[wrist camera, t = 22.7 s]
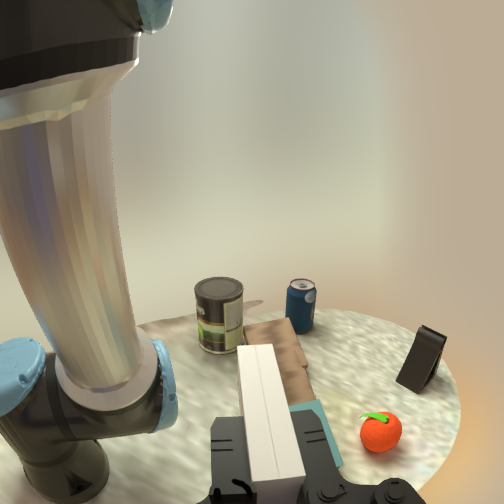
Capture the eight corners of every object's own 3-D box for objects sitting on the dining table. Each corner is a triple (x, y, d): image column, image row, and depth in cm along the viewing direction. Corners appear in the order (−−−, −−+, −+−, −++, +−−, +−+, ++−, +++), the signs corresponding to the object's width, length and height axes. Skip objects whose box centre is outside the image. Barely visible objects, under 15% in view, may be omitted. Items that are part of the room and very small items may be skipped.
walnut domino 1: (259, 376, 57) (243, 326, 66) (258, 381, 59) (243, 332, 67) (308, 364, 59) (288, 317, 68) (305, 369, 61) (287, 323, 69)
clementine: (342, 447, 43) (352, 422, 40) (361, 421, 48) (370, 394, 45) (384, 465, 38) (399, 441, 36) (400, 437, 43) (413, 411, 41)
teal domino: (279, 483, 35) (258, 412, 44) (276, 485, 37) (256, 417, 46) (343, 464, 38) (318, 398, 46) (338, 467, 39) (314, 404, 48)
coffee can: (202, 357, 66) (197, 301, 61) (196, 331, 75) (191, 278, 70) (248, 350, 68) (249, 295, 63) (237, 326, 78) (237, 274, 73)
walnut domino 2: (260, 412, 49) (243, 354, 57) (258, 416, 50) (241, 360, 59) (314, 398, 51) (293, 344, 60) (311, 403, 53) (290, 351, 61)
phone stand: (417, 394, 52) (436, 347, 48) (394, 381, 57) (410, 334, 53) (436, 373, 57) (453, 328, 53) (415, 362, 62) (430, 317, 57)
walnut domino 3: (267, 443, 42) (249, 378, 51) (265, 446, 44) (248, 384, 53) (326, 428, 45) (304, 368, 53) (322, 432, 46) (301, 374, 55)
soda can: (316, 332, 75) (322, 288, 71) (290, 337, 73) (294, 292, 69) (305, 317, 81) (309, 275, 77) (280, 321, 80) (283, 279, 75)
